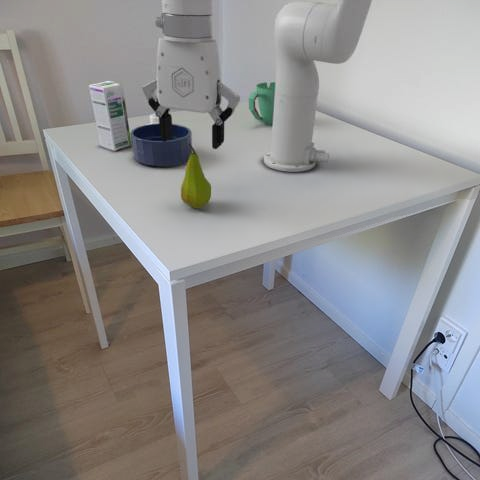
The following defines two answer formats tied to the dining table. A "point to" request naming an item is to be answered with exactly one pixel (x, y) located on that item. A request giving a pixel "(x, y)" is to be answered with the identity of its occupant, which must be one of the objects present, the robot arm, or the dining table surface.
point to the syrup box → (110, 114)
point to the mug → (263, 102)
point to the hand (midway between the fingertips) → (192, 143)
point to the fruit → (195, 184)
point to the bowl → (161, 145)
